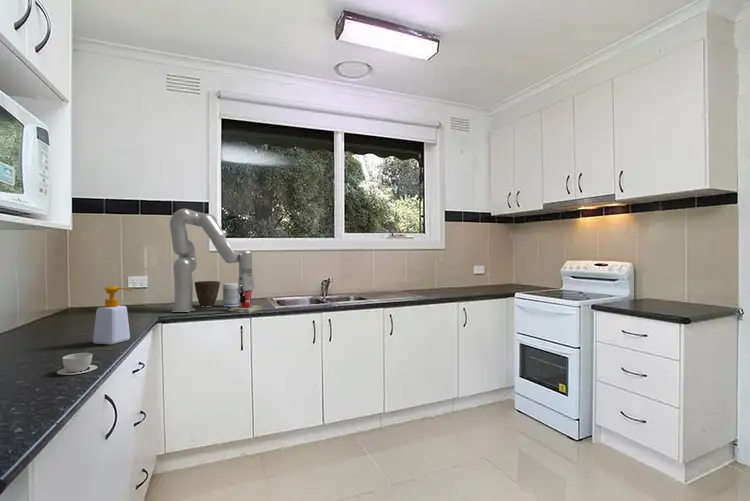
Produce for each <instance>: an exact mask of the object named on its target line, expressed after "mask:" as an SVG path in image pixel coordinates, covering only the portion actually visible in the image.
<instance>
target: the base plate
mask: <svg viewBox="0 0 750 501" xmlns="http://www.w3.org/2000/svg"><path fill="white" fill-rule="evenodd" d="M259 309H262V310H263V305H251V304H250V306H249V307H242V306H241V304H239V306H235V307H231V308H228V309H227V312H228V311H236V312H235V313H239V312H240V314H241V313H243V314H251V313H254V312H258V311H257V310H259ZM259 311H260V310H259Z"/></svg>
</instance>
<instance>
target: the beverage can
mask: <svg viewBox="0 0 750 501" xmlns="http://www.w3.org/2000/svg"><path fill="white" fill-rule="evenodd" d="M240 305H241V306H242V307H249V306H250V305H251V301H250V290H248V291H245V303H240Z"/></svg>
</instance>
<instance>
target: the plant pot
mask: <svg viewBox="0 0 750 501" xmlns="http://www.w3.org/2000/svg"><path fill="white" fill-rule="evenodd" d="M220 282H221V281H215V280H214V281H213V280H204V281H202V280H201V281H194V288H195V293H196V297H197V302H198V303H199V306H204V307H206V306H215V304H216V301H217V298H218V295H219V294H218V293H219V290H220V286H221V285H220V284H221V283H220Z"/></svg>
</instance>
